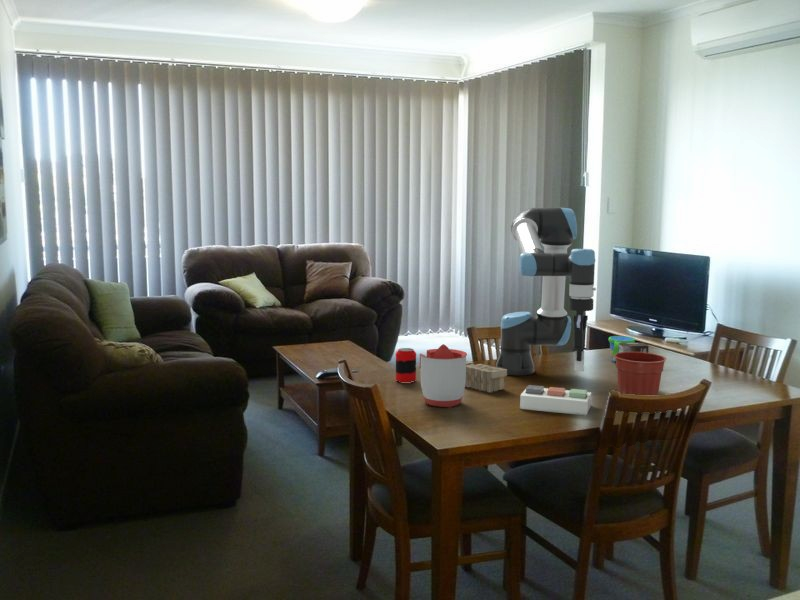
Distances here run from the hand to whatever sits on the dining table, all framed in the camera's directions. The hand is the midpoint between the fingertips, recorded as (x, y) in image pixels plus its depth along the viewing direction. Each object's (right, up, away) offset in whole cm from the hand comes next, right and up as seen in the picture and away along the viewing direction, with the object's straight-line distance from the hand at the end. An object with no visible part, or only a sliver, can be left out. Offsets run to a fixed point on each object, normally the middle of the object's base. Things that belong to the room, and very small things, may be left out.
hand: (579, 370), depth 240 cm
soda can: (-55, -8, +39) cm, 68 cm away
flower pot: (+22, -12, +9) cm, 26 cm away
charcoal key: (-13, -9, +7) cm, 17 cm away
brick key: (-7, -10, +4) cm, 12 cm away
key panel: (-7, -13, +5) cm, 15 cm away
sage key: (0, -10, +2) cm, 10 cm away
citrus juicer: (-44, -12, +10) cm, 47 cm away
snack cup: (+35, -4, +73) cm, 81 cm away
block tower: (-32, -9, +35) cm, 48 cm away
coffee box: (+27, -9, +30) cm, 41 cm away
